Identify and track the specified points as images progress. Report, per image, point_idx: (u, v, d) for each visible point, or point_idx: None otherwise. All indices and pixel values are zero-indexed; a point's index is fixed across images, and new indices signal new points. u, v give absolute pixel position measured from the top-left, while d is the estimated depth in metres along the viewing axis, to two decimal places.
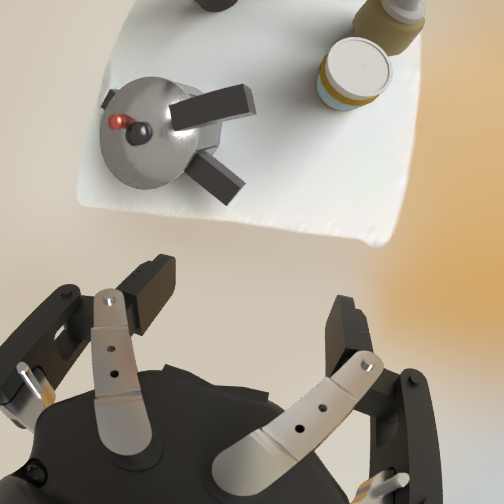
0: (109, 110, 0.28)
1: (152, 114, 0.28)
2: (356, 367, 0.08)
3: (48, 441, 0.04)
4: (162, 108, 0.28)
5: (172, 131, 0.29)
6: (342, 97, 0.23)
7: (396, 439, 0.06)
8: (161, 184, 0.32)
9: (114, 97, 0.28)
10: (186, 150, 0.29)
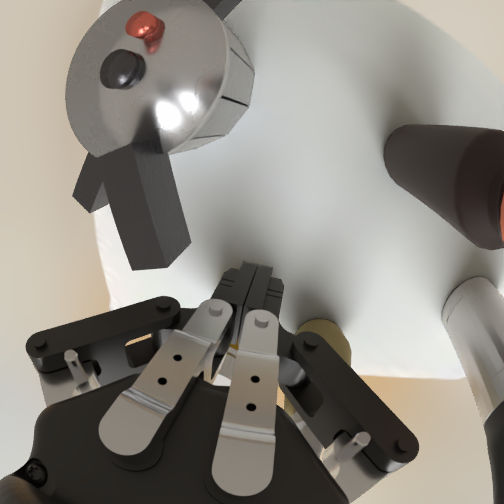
0: None
1: (153, 84, 0.15)
2: (254, 329, 0.09)
3: (43, 428, 0.04)
4: (159, 103, 0.16)
5: (126, 125, 0.17)
6: None
7: (327, 405, 0.07)
8: (69, 117, 0.17)
9: (200, 3, 0.12)
10: (104, 151, 0.18)
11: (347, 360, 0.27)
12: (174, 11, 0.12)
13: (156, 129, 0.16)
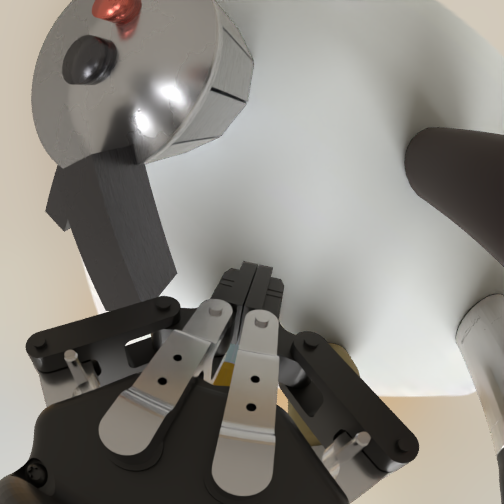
0: None
1: (125, 76, 0.11)
2: (254, 329, 0.09)
3: (43, 428, 0.04)
4: (132, 99, 0.12)
5: (94, 129, 0.13)
6: None
7: (327, 405, 0.07)
8: (35, 121, 0.13)
9: None
10: (71, 161, 0.14)
11: None
12: None
13: (128, 133, 0.12)
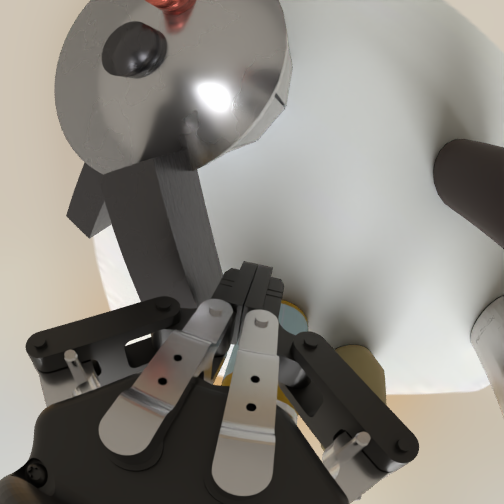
0: None
1: (178, 72, 0.11)
2: (254, 329, 0.09)
3: (43, 428, 0.04)
4: (188, 98, 0.11)
5: (137, 128, 0.12)
6: None
7: (327, 405, 0.07)
8: (59, 115, 0.12)
9: None
10: (105, 162, 0.13)
11: (384, 390, 0.23)
12: None
13: (182, 135, 0.12)
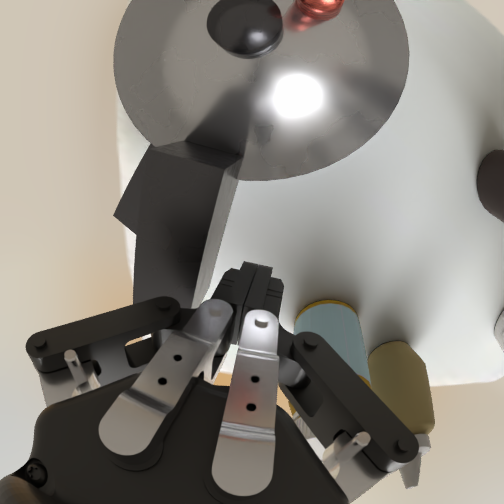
0: None
1: (276, 77, 0.10)
2: (254, 329, 0.09)
3: (43, 428, 0.04)
4: (271, 109, 0.11)
5: (202, 105, 0.11)
6: None
7: (327, 405, 0.07)
8: (118, 39, 0.10)
9: (399, 25, 0.08)
10: (147, 119, 0.12)
11: (428, 382, 0.22)
12: (362, 4, 0.07)
13: (245, 141, 0.12)
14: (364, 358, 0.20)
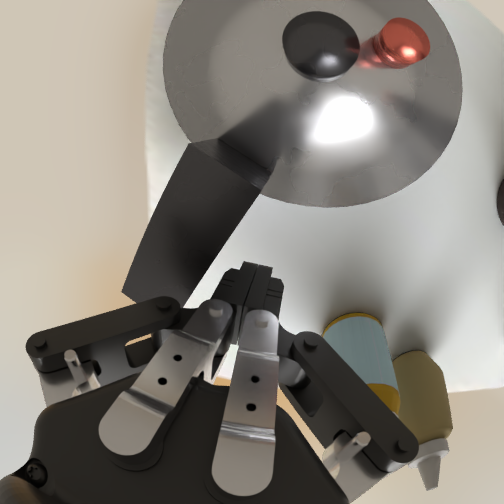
0: (447, 60, 0.08)
1: (329, 107, 0.10)
2: (254, 329, 0.09)
3: (43, 428, 0.04)
4: (314, 137, 0.11)
5: (247, 109, 0.11)
6: None
7: (327, 405, 0.07)
8: (181, 9, 0.09)
9: (457, 96, 0.08)
10: (185, 103, 0.11)
11: (446, 389, 0.22)
12: (432, 65, 0.08)
13: (278, 158, 0.12)
14: (392, 369, 0.20)
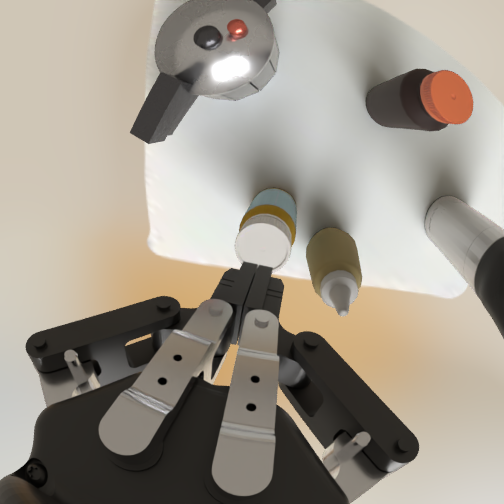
0: (266, 28, 0.23)
1: (213, 58, 0.25)
2: (254, 329, 0.09)
3: (43, 428, 0.04)
4: (208, 69, 0.26)
5: (184, 64, 0.26)
6: (242, 225, 0.33)
7: (327, 405, 0.07)
8: (161, 29, 0.24)
9: (271, 41, 0.23)
10: (162, 64, 0.26)
11: (355, 249, 0.37)
12: (257, 32, 0.23)
13: (195, 79, 0.27)
14: (290, 209, 0.35)
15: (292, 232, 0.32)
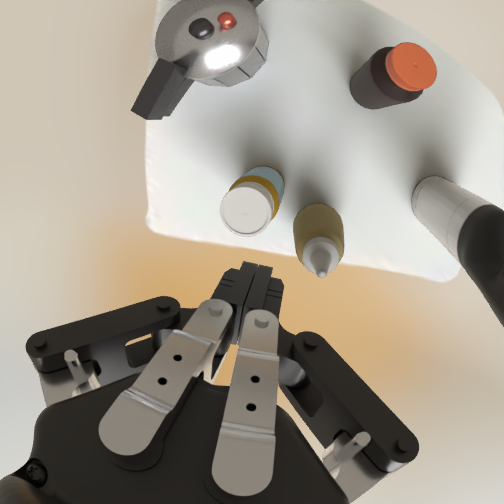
0: (252, 19, 0.25)
1: (206, 46, 0.27)
2: (254, 329, 0.09)
3: (43, 428, 0.04)
4: (201, 56, 0.28)
5: (181, 52, 0.28)
6: None
7: (327, 405, 0.07)
8: (161, 22, 0.26)
9: (256, 30, 0.25)
10: (162, 53, 0.28)
11: (340, 222, 0.39)
12: (244, 23, 0.25)
13: (190, 65, 0.29)
14: (275, 181, 0.37)
15: (275, 200, 0.34)
